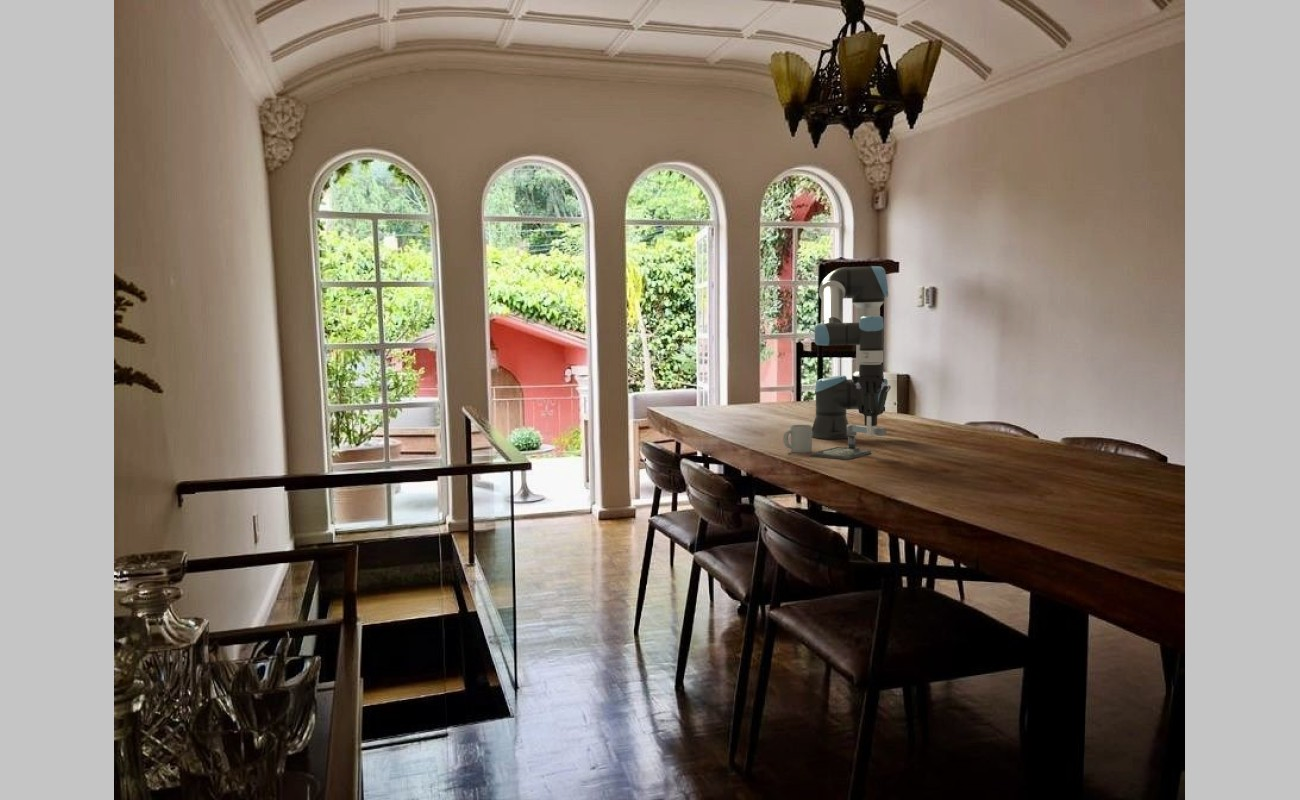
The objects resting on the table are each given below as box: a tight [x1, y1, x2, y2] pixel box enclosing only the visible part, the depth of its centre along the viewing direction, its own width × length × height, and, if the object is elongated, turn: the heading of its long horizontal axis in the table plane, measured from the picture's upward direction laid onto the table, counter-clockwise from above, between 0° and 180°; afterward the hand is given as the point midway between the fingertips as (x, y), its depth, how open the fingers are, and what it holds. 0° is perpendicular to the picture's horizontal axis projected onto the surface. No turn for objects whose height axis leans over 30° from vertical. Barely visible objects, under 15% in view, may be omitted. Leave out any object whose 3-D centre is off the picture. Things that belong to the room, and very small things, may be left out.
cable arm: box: [847, 424, 887, 437], centre depth 269 cm, size 15×3×4 cm, turn 34°
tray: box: [811, 435, 872, 461], centre depth 270 cm, size 16×13×6 cm
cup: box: [782, 424, 813, 454], centre depth 278 cm, size 7×10×9 cm
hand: (870, 435), depth 264 cm, fingers closed
